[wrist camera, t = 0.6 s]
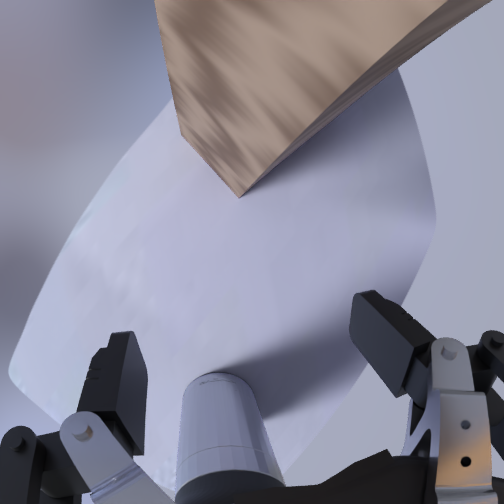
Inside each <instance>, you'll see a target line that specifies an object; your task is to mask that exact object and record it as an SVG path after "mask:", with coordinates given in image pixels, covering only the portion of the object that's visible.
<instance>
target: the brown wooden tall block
mask: <svg viewBox="0 0 504 504" xmlns="http://www.w3.org/2000/svg"><path fill="white" fill-rule="evenodd" d="M154 1H155V7H156V13H157V18H158V24H159V29H160V35H161V40H162V45H163V51H164V56H165V61H166V65H167V71H168V76H169V81H170V85H171V90H172V95H173V100H174V104H175V109H176V113H177V118H178V122H179V127H180V131H181V135H182V136H183V137H184V138H185V140H186V141H187V142H188V143H189V144H190V145H191V146H192V147H193V148H194V149H195V150H196V151H197V153H198V154H199V155H200V156H201V157H202V158H203V159H204V160H205V161H206V162H207V164H208V165H209V166H210V167H211V168H212V169H213V170H214V171H215V172H216V173H217V175H218V176H219V177H220V178H221V179H222V180H223V181H224V182H225V183H226V185H227V186H228V187H229V188H230V189H231V190H232V191H233V192H234V193H235V195H236V196H237V197H238V198H240V197H241V196H242V195H243V194H244V193H245V192H247V191H248V190H249V189H250V188H251V187H252V186H254V185H255V184H256V183H257V182H258V181H259V180H261V179H262V178H263V177H264V176H265V175H266V174H268V173H269V172H270V171H271V170H272V169H274V168H275V167H276V166H277V165H278V164H279V163H281V162H282V161H283V160H284V159H285V158H287V157H288V156H289V155H290V154H292V153H293V152H294V151H295V150H296V149H298V148H299V147H300V146H301V145H302V144H304V143H305V142H306V141H307V140H309V139H310V138H311V137H312V136H314V135H315V134H316V133H317V132H319V131H320V130H321V129H322V128H324V127H325V126H326V125H327V124H329V123H330V122H331V121H332V120H334V119H335V118H336V117H337V116H338V115H340V114H341V113H342V112H343V111H344V110H346V109H347V108H348V107H349V106H351V105H352V104H353V103H354V102H355V101H357V100H358V99H359V98H360V97H362V96H363V95H364V94H365V93H366V92H368V91H369V90H370V89H371V88H373V87H374V86H375V85H376V84H378V83H379V82H380V81H382V80H383V79H384V78H385V77H387V76H388V75H389V74H390V73H392V72H393V71H394V70H396V69H397V68H398V67H399V66H400V65H402V64H403V63H405V62H406V61H407V60H409V59H410V58H411V57H412V56H414V55H415V54H416V53H418V52H419V51H420V50H422V49H423V48H425V47H426V46H427V45H428V44H430V43H431V42H432V41H434V40H435V39H437V38H438V37H440V36H441V35H442V34H444V33H445V32H446V31H448V30H449V29H451V28H452V27H453V26H455V25H456V24H458V23H459V22H461V21H462V20H464V19H465V18H466V17H468V16H469V15H471V14H472V13H473V12H475V11H477V10H478V9H480V8H481V7H483V6H484V5H485V4H487V3H489V2H490V1H492V0H154Z"/></svg>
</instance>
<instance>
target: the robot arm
mask: <svg viewBox="0 0 504 504" xmlns="http://www.w3.org/2000/svg"><path fill="white" fill-rule="evenodd" d="M349 332H350V337H351V339H352V341H353V343H354V344H355V346H356V347H357V348H358V349H359V351H360V352H361V353H362V354H363V356H364V357H365V358H366V360H367V361H368V362H369V364H370V365H371V366H372V367H373V369H374V370H375V371H376V373H377V374H378V375H379V376H380V378H381V379H382V380H383V382H384V383H385V384H386V386H387V387H388V388H389V389H390V391H391V392H392V393H393V395H394V396H395V397H396V398H398V397H400V396H402V395H404V394H407V393H408V394H409V396H410V397H411V400H410V402H409V412H408V421H407V430H406V437H405V443H404V447H403V450H402V452H401V454H400V456H393V457H392V456H391V454H390V453H389V451H388V450H387V449H386V450H383V451H381V452H379V453H377V454H375V455H372V456H370V457H367V458H365V459H362V460H360V461H357V462H355V463H353V464H351V465H350V466H349V467H347V468H345V469H344V470H342V471H341V472H339V473H338V474H336V475H334V476H333V477H331V478H330V479H328V480H326V481H324V482H323V483H321V484H318V485H308V486H292V487H286V484H285V482H284V479H283V476H282V474H281V471H280V468H279V466H278V463H277V460H276V458H275V455H274V452H273V449H272V446H271V443H270V441H269V438H268V435H267V432H266V429H265V426H264V423H263V420H262V417H261V414H260V411H259V408H258V405H257V402H256V399H255V396H254V393H253V391H252V389H251V388H250V386H249V385H248V384H247V383H246V382H245V381H243V380H242V379H240V378H239V377H237V376H234V375H231V374H227V373H211V374H207V375H204V376H201V377H199V378H197V379H196V380H194V381H193V382H192V383H191V384H190V385H189V386H188V387H187V389H186V390H185V393H184V396H183V403H182V412H181V421H180V431H179V443H178V455H177V469H176V488H175V502H174V501H173V500H172V499H170V497H169V496H167V494H165V492H163V490H161V489H160V487H159V486H158V485H157V484H156V483H155V482H154V481H153V480H152V479H151V478H150V477H149V476H148V475H147V474H146V473H145V472H144V471H143V470H142V468H141V467H140V466H138V465H137V464H136V463H135V462H134V460H133V456H138V455H144V439H145V415H146V399H147V385H148V375H147V368H146V365H145V362H144V359H143V356H142V353H141V351H140V348H139V345H138V342H137V339H136V336H135V334H134V332H133V331H126V332H116V333H112V334H111V336H110V339H109V343H108V346H107V348H100V349H99V350H98V352H97V353H96V354H95V355H94V356H93V357H92V360H91V363H90V366H89V371H88V372H87V376H86V380H85V382H84V386H83V389H82V393H81V397H80V400H79V404H78V408H77V412H76V413H74V414H72V415H70V416H69V417H68V418H66V419H65V421H64V422H63V423H62V425H61V428H60V431H57V432H53V433H49V434H45V435H40V436H36V434H35V433H34V432H33V431H32V430H31V429H30V428H28V427H25V426H16V427H14V428H12V429H10V430H9V431H8V432H7V433H6V434H5V435H4V437H3V439H2V441H1V445H0V504H81V502H82V499H81V498H82V494H83V493H89V492H92V494H90V496H91V499H92V501H93V502H94V504H504V479H502V478H497V477H493V476H492V463H491V444H492V445H493V447H494V448H495V449H496V451H497V452H498V453H499V455H500V456H501V458H502V459H503V460H504V401H503V399H501V397H500V396H499V395H498V394H497V393H496V391H495V390H494V389H493V388H492V385H493V383H494V381H495V380H496V378H497V376H498V377H499V378H500V379H501V380H502V381H503V382H504V334H503V333H501V332H498V331H494V330H493V331H492V330H490V331H486V332H484V333H483V335H482V337H481V339H480V342H479V344H478V345H472V346H465V345H463V344H462V343H461V342H460V341H458V340H456V339H453V338H439V339H436V338H435V337H434V336H433V335H432V334H431V333H430V332H429V331H428V330H426V329H425V328H424V327H423V326H422V325H421V324H420V323H419V322H418V321H416V320H415V319H413V317H412V316H411V315H410V314H409V313H407V312H406V311H405V310H404V309H403V308H402V307H401V306H400V305H398V304H396V303H394V302H392V301H390V300H387V299H384V298H383V297H382V296H381V295H380V294H379V293H378V292H376V291H375V290H369V291H365V292H361V293H356V294H355V295H354V297H353V302H352V310H351V318H350V325H349Z"/></svg>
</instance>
